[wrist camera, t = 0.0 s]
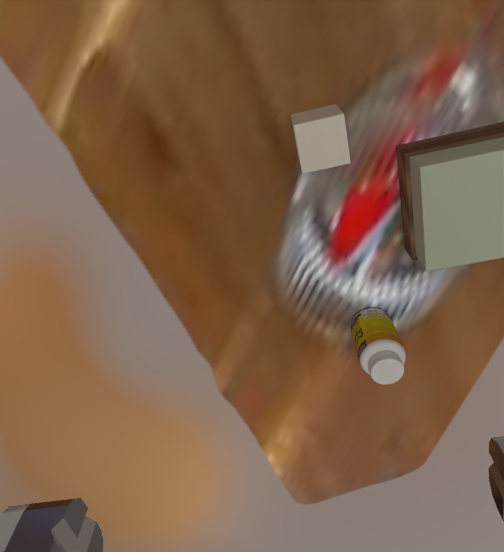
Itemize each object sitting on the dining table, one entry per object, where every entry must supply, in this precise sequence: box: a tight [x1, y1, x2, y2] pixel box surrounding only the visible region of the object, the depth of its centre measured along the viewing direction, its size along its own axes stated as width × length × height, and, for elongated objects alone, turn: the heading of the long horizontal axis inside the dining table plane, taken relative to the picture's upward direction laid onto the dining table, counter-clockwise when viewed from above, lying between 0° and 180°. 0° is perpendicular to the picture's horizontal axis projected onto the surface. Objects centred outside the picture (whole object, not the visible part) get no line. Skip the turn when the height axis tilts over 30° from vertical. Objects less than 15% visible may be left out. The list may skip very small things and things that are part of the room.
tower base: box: [396, 122, 504, 260], centre depth 54 cm, size 13×13×4 cm
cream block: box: [290, 104, 351, 174], centre depth 50 cm, size 5×5×6 cm
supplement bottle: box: [351, 308, 406, 384], centre depth 61 cm, size 6×6×10 cm
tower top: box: [409, 137, 504, 271], centre depth 51 cm, size 12×12×4 cm
